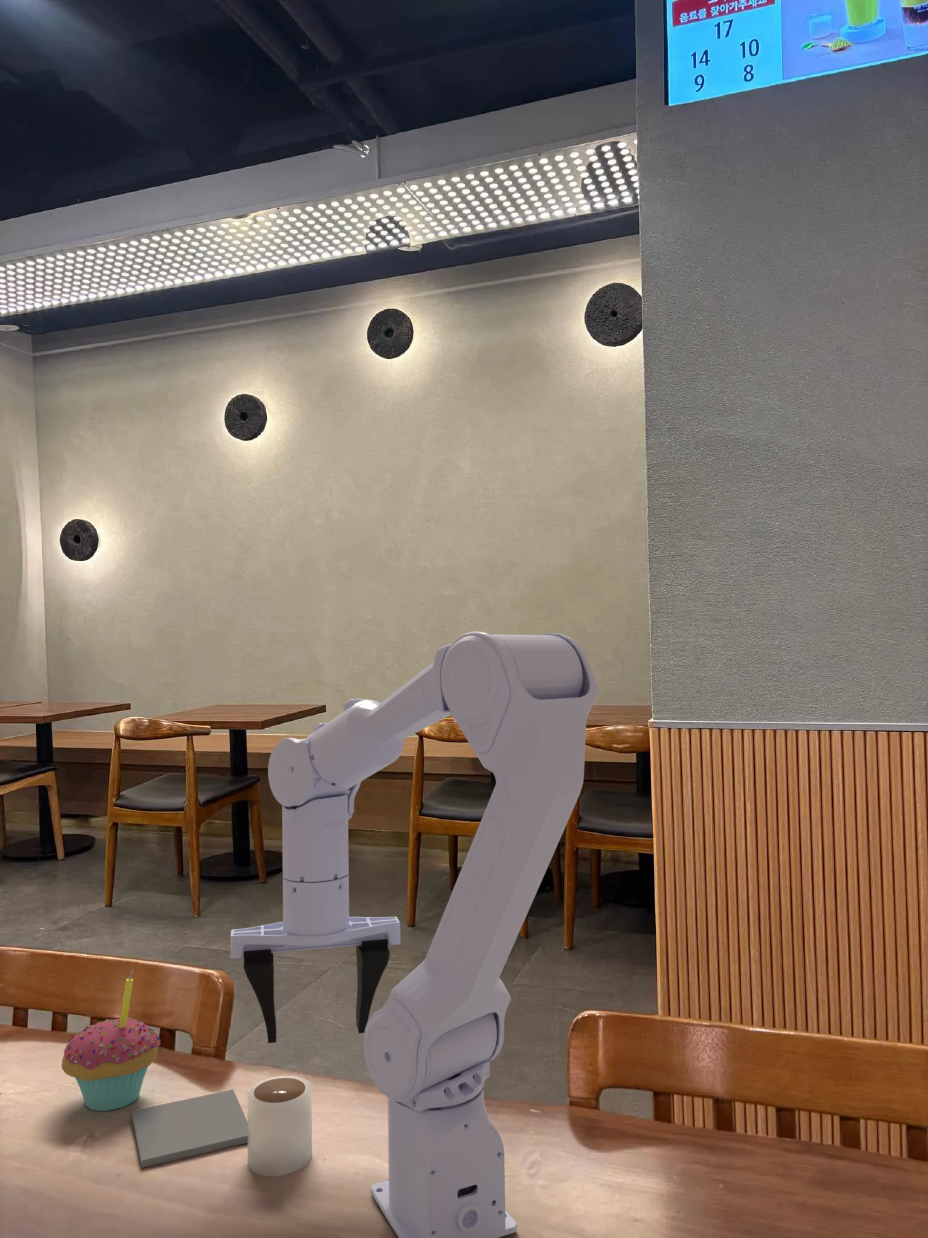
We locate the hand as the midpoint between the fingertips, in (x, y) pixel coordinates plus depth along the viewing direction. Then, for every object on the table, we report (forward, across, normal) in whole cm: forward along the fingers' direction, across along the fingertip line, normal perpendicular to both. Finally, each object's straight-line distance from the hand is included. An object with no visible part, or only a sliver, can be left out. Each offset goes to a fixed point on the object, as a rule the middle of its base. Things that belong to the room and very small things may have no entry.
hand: (317, 1033), depth 78 cm
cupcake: (+9, +19, -11) cm, 24 cm away
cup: (+9, +3, +3) cm, 10 cm away
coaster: (+9, +11, -4) cm, 14 cm away
